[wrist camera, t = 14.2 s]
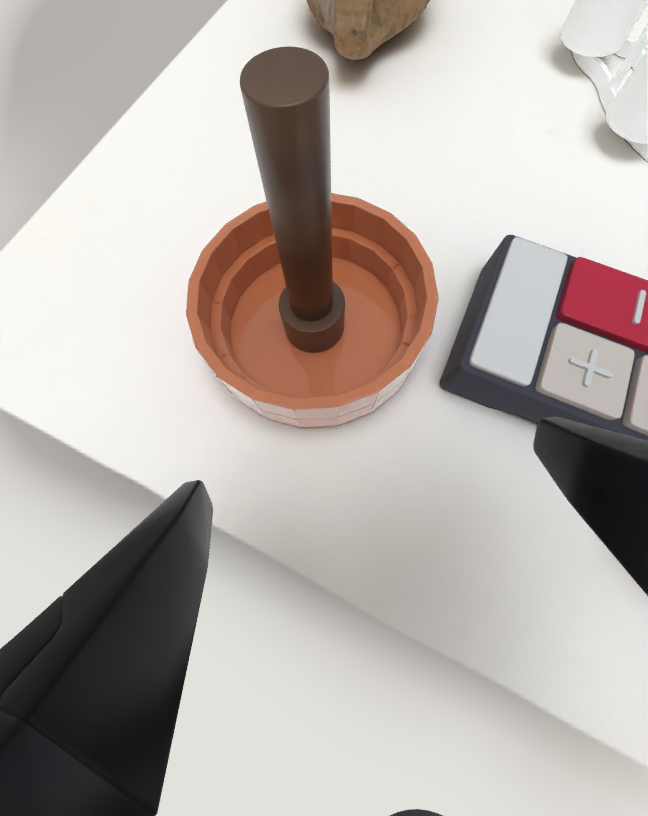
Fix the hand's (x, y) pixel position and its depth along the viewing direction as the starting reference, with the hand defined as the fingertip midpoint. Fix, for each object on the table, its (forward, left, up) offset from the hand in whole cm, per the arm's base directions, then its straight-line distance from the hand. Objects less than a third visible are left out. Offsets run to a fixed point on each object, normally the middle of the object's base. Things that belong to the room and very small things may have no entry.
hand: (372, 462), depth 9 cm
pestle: (+11, +5, -13) cm, 18 cm away
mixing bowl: (+11, +5, -14) cm, 18 cm away
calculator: (+13, -13, -14) cm, 23 cm away
